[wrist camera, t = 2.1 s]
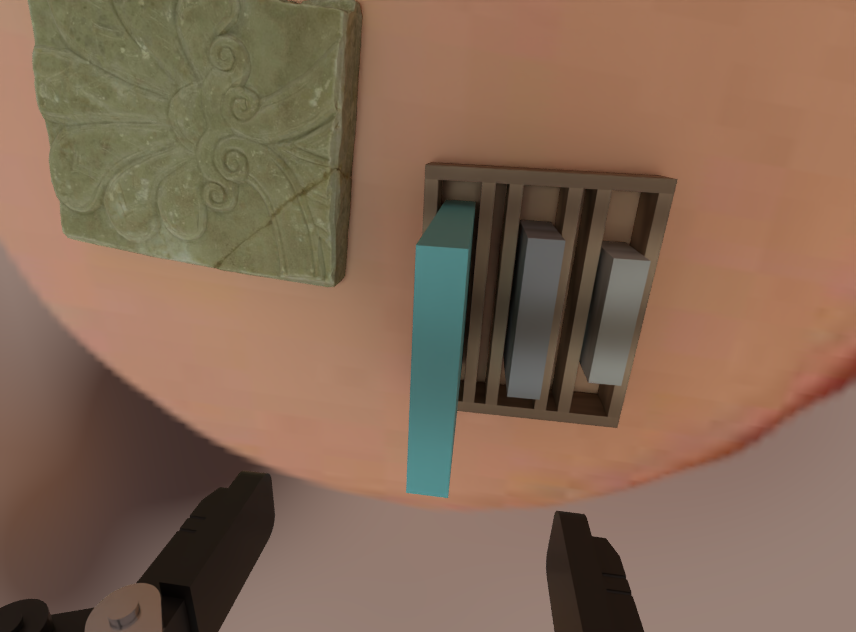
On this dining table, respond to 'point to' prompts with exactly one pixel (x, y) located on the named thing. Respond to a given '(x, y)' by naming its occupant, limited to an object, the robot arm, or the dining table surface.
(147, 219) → the decorative tile
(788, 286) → the dining table surface
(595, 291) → the offcut short
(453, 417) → the teal sheet
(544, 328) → the offcut tall
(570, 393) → the rack
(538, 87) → the dining table surface
